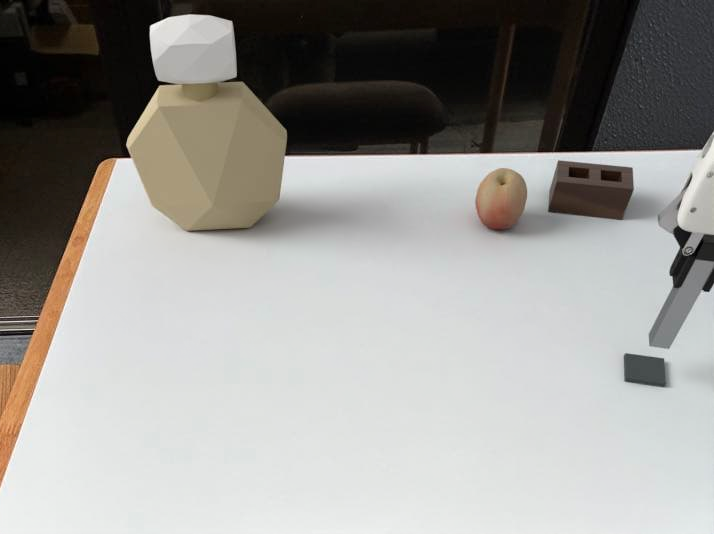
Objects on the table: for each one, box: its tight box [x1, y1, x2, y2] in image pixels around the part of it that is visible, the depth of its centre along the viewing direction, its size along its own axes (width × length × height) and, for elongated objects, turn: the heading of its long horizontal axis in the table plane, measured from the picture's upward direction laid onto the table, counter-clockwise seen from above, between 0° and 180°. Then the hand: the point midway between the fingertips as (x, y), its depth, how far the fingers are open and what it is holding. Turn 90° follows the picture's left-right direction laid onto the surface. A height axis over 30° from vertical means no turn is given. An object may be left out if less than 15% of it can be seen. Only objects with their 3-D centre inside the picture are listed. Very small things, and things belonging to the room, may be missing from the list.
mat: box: [623, 352, 667, 388], centre depth 86 cm, size 5×5×1 cm
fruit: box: [474, 167, 528, 230], centre depth 103 cm, size 8×8×8 cm
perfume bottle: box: [125, 13, 288, 231], centre depth 97 cm, size 12×24×28 cm, turn 93°
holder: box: [547, 159, 635, 221], centre depth 107 cm, size 7×12×5 cm, turn 76°
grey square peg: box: [648, 234, 714, 350], centre depth 76 cm, size 2×2×14 cm
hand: (690, 281), depth 75 cm, fingers closed on grey square peg, 2 cm apart
